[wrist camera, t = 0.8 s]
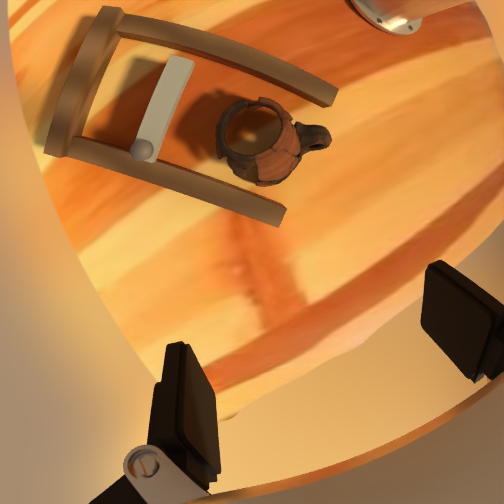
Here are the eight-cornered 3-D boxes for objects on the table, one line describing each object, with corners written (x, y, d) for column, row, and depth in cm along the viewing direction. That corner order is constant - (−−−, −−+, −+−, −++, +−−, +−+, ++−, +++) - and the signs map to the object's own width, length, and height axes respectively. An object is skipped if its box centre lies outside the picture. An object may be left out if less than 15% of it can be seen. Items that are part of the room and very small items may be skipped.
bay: (113, 18, 23) (102, 5, 19) (330, 91, 30) (346, 86, 26) (60, 150, 28) (43, 153, 24) (273, 221, 36) (282, 233, 32)
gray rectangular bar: (173, 59, 24) (169, 49, 21) (194, 66, 25) (192, 56, 22) (135, 154, 28) (125, 157, 24) (155, 161, 28) (148, 164, 25)
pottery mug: (237, 199, 35) (214, 183, 27) (225, 130, 35) (202, 100, 27) (337, 179, 32) (343, 155, 24) (318, 109, 33) (316, 72, 25)
